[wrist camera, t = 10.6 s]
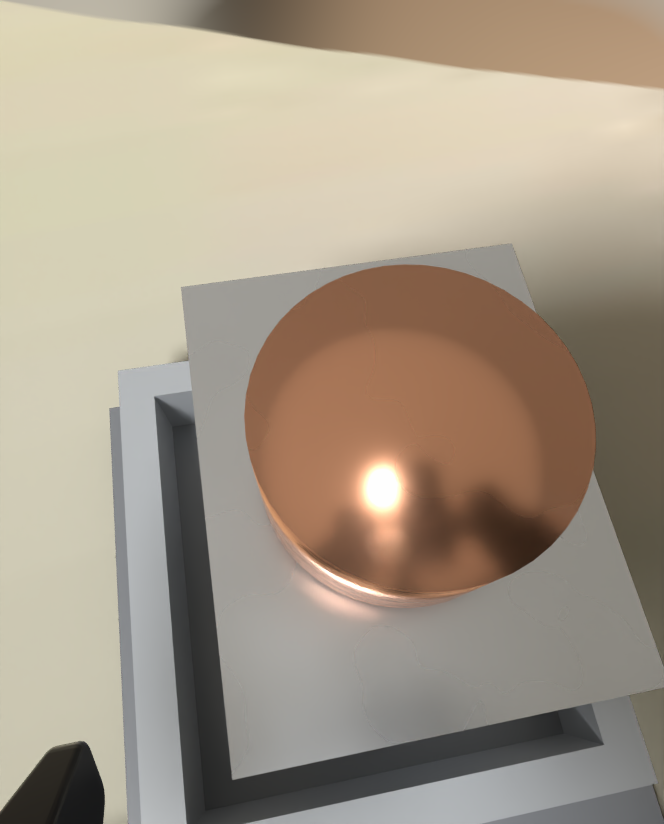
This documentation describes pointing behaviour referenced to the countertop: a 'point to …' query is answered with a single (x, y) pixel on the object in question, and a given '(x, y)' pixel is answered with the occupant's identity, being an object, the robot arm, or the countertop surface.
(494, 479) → the block
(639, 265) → the countertop surface
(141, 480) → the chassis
